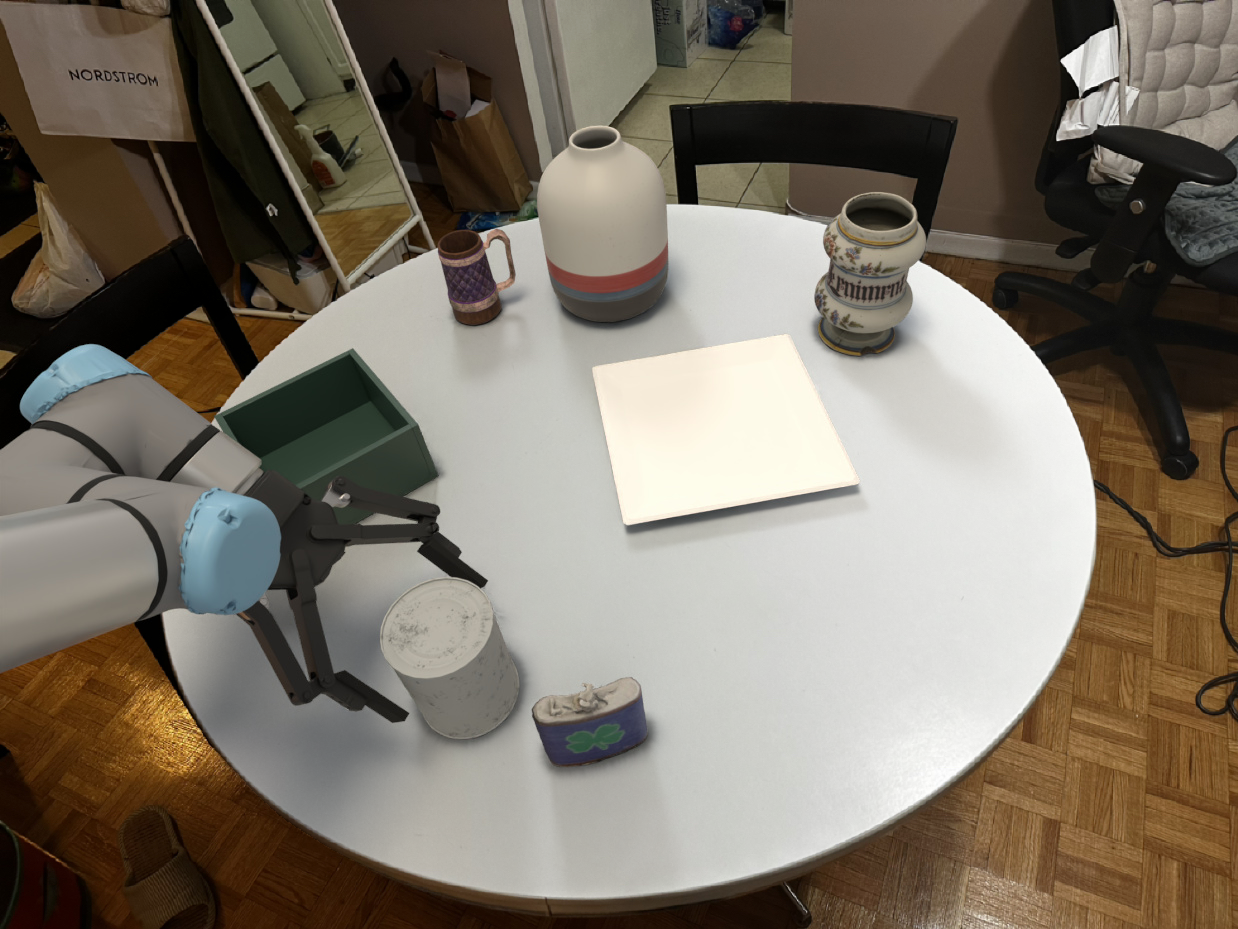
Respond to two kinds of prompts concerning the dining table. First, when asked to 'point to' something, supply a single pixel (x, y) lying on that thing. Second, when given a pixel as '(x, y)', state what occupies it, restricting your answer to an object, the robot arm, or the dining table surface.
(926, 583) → the dining table surface
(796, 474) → the white flat square slab
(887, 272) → the apothecary jar
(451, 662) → the white speckled cylinder
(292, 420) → the bin
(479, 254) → the mug
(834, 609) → the dining table surface
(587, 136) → the vase
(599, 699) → the flask
